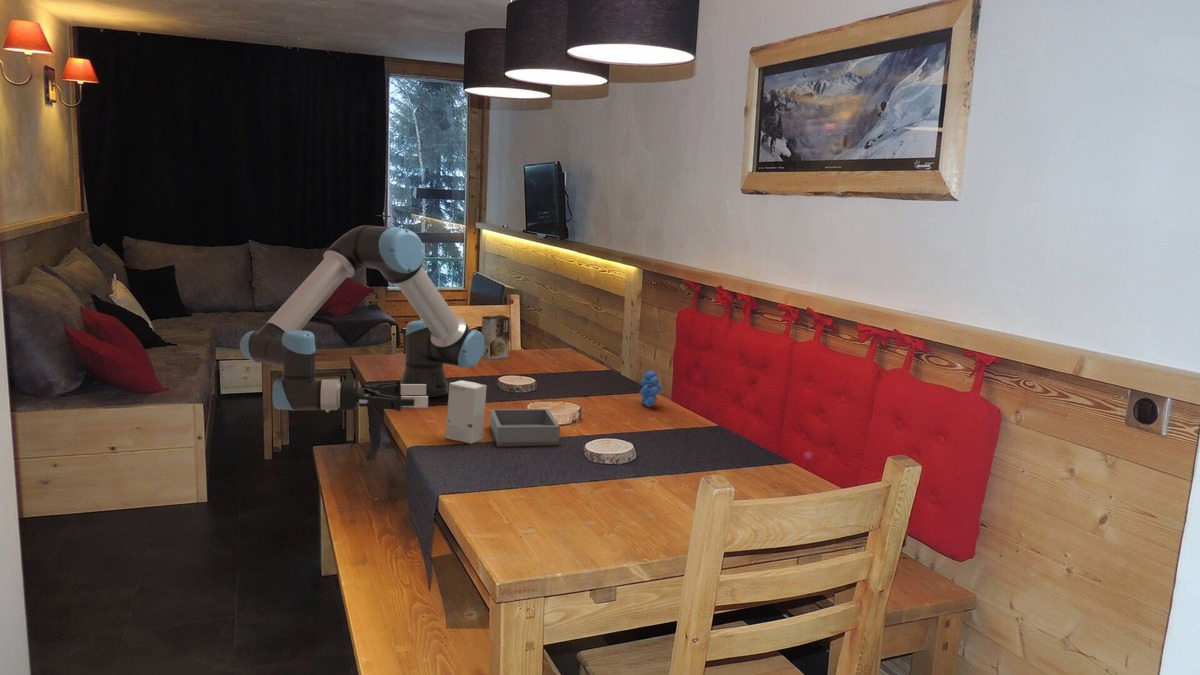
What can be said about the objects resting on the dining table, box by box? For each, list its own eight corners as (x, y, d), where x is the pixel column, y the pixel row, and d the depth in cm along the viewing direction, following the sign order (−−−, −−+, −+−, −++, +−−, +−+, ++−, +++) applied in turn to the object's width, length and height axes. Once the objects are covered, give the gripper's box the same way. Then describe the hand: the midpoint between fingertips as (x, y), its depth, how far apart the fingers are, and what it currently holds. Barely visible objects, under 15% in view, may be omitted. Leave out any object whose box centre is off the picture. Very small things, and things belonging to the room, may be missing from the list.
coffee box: (500, 354, 333) (501, 314, 330) (509, 357, 328) (510, 317, 325) (480, 356, 327) (481, 315, 324) (489, 359, 322) (490, 318, 319)
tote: (489, 426, 230) (490, 409, 229) (547, 426, 234) (547, 408, 233) (497, 446, 212) (497, 427, 212) (559, 445, 216) (559, 426, 215)
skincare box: (445, 439, 216) (446, 383, 214) (458, 433, 222) (459, 379, 219) (472, 444, 213) (474, 387, 211) (485, 439, 218) (487, 383, 216)
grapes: (668, 411, 257) (670, 373, 255) (647, 412, 255) (650, 373, 253) (654, 402, 268) (656, 365, 266) (634, 402, 266) (637, 366, 264)
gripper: (342, 398, 220) (425, 398, 225) (336, 422, 196) (428, 422, 202) (343, 370, 219) (425, 371, 224) (336, 391, 195) (429, 392, 200)
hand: (427, 395), depth 213 cm, fingers open, 13 cm apart
